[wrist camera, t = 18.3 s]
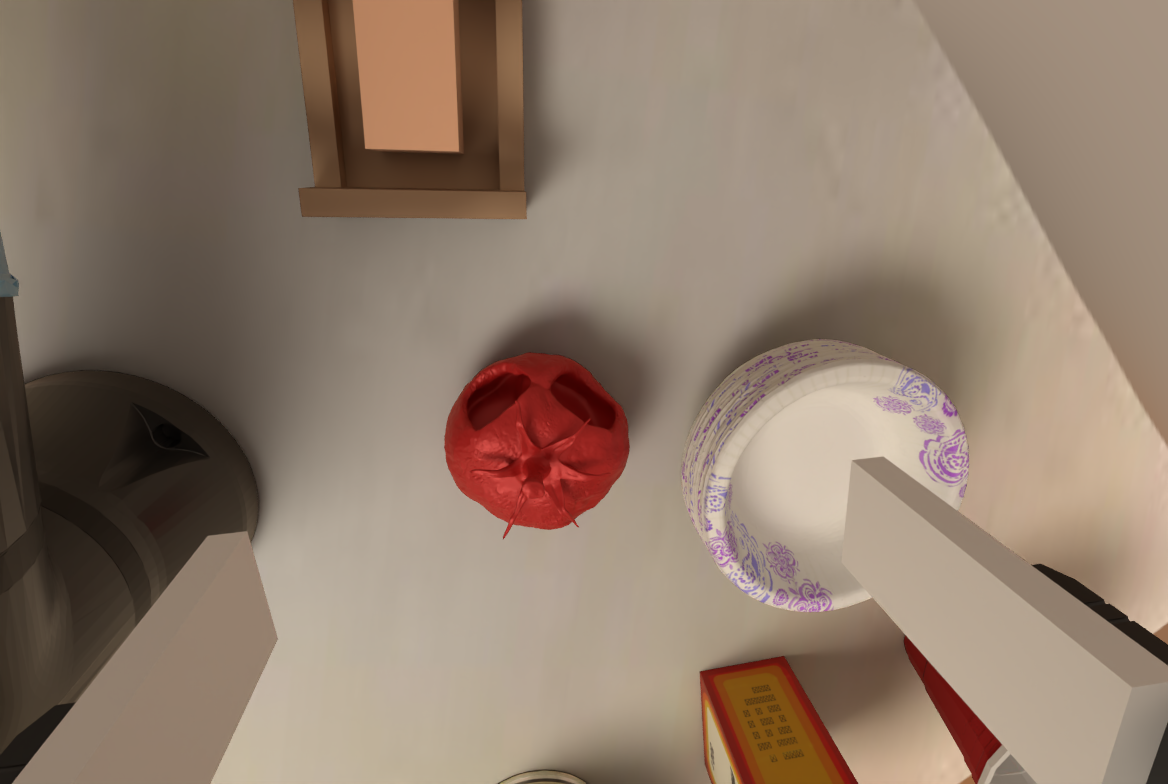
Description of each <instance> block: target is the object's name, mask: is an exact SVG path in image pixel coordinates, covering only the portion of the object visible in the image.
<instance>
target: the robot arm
mask: <svg viewBox="0 0 1168 784" xmlns="http://www.w3.org/2000/svg"><path fill="white" fill-rule="evenodd" d="M18 289H19V282H18V280H17V279H16V278H15V277H14V276H13V275H11V274H10V273H9V270H8V265H7V261H6V256H5V251H4V247H3V242H2V237H1V232H0V784H210V783H211V781H212V779H213V777H214V775H215V772H216V770H217V768H218V766H219V764H220V762H221V760H222V758H223V755H224V753H225V751H226V749H227V747H228V745H229V743H230V740H231V738H232V736H233V734H234V732H235V730H236V728H237V725H238V723H239V721H240V719H241V717H242V715H243V713H244V710H245V708H246V706H247V704H248V702H249V700H250V698H251V695H252V693H253V691H254V689H255V687H256V685H257V683H258V680H259V678H260V676H261V674H262V672H263V670H264V668H265V665H266V663H267V661H268V659H269V657H270V655H271V653H272V650H273V648H274V646H275V644H276V642H277V640H278V638H277V634H276V631H275V627H274V624H273V620H272V617H271V613H270V610H269V606H268V603H267V599H266V596H265V592H264V588H263V585H262V581H261V578H260V574H259V571H258V567H257V564H256V560H255V557H254V553H253V550H252V546H251V543H250V542H251V540H252V538H253V535H254V532H255V528H256V524H257V519H258V493H257V487H256V482H255V479H254V476H253V472H252V470H251V467H250V465H249V463H248V461H247V459H246V457H245V455H244V453H243V451H242V450H241V448H240V447H239V445H238V444H237V442H236V441H235V439H234V438H233V437H232V436H231V434H230V433H229V432H228V431H227V430H226V429H225V428H224V427H223V425H222V424H221V423H220V422H218V421H217V420H216V419H215V418H214V417H213V416H212V415H211V414H210V413H208V412H207V411H206V410H205V409H203V408H202V407H201V406H199V405H198V404H196V403H195V402H193V401H192V400H190V399H189V398H187V397H185V396H183V395H182V394H180V393H178V392H176V391H174V390H172V389H170V388H168V387H165V386H163V385H161V384H158V383H156V382H153V381H150V380H147V379H144V378H140V377H136V376H132V375H128V374H123V373H116V372H109V371H72V372H64V373H58V374H53V375H50V376H46V377H42V378H39V379H37V380H34V381H31V382H29V383H27V384H24V377H23V369H22V362H21V355H20V348H19V341H18V334H17V327H16V320H15V311H14V302H13V296H19V295H18ZM841 563H842V564H843V565H844V566H845V567H846V568H847V569H848V570H849V572H850V573H851V574H852V575H853V576H854V577H855V578H856V579H857V581H858V582H859V583H860V584H861V585H862V586H863V587H864V589H865V590H866V591H867V592H868V593H869V594H870V595H871V596H872V598H873V599H874V600H875V601H876V602H877V603H878V604H879V606H880V607H881V608H882V609H883V610H884V611H885V612H886V613H887V615H888V616H889V617H890V618H891V619H892V620H893V621H894V622H895V624H896V625H897V626H898V627H899V628H900V629H901V630H902V632H903V633H904V634H905V635H906V636H907V637H908V638H909V639H910V641H911V642H912V643H913V644H914V645H915V646H916V647H917V649H918V650H919V651H920V652H921V653H922V654H923V655H924V656H925V658H926V659H927V660H928V661H929V662H930V663H931V664H932V665H933V667H934V668H935V669H936V670H937V671H938V672H939V673H940V675H941V676H942V677H943V678H944V679H945V680H946V681H947V682H948V684H949V685H950V686H951V687H952V688H953V689H954V690H955V692H956V693H957V694H958V695H959V696H960V697H961V698H962V699H963V701H964V702H965V703H966V704H967V705H968V706H969V707H970V708H971V710H972V711H973V712H974V713H975V714H976V715H977V716H978V718H979V719H980V720H981V721H982V722H983V723H984V724H985V725H986V727H987V728H988V729H989V730H990V731H991V732H992V733H993V734H994V736H995V737H996V738H997V739H998V740H999V741H1000V742H1001V744H1002V745H1003V746H1004V747H1005V748H1006V749H1007V750H1008V751H1009V753H1010V754H1011V755H1012V756H1013V757H1014V758H1015V759H1016V761H1017V762H1018V763H1019V764H1020V765H1021V766H1022V767H1023V768H1024V770H1025V771H1026V772H1027V773H1028V774H1029V775H1030V776H1031V777H1032V779H1033V780H1034V781H1035V782H1036V783H1037V784H1168V645H1167V644H1166V643H1165V642H1163V641H1162V640H1160V639H1159V638H1158V637H1156V636H1155V635H1153V634H1152V633H1150V632H1149V631H1148V630H1146V629H1145V628H1143V627H1142V626H1141V625H1139V624H1138V623H1136V622H1135V621H1131V622H1130V621H1129V619H1128V616H1126V615H1125V614H1123V613H1122V612H1121V611H1119V610H1118V609H1116V608H1115V607H1114V606H1112V605H1111V604H1105V602H1104V599H1102V598H1101V597H1099V596H1098V595H1096V594H1095V593H1094V592H1092V591H1091V590H1089V589H1088V588H1087V587H1085V586H1084V585H1082V584H1081V583H1079V582H1078V581H1077V580H1075V579H1073V578H1071V577H1068V576H1066V575H1064V574H1062V573H1060V572H1057V571H1055V570H1053V569H1051V568H1049V567H1046V566H1044V565H1042V564H1036V565H1030V564H1029V563H1028V562H1026V561H1025V560H1024V559H1022V558H1021V557H1019V556H1018V555H1017V554H1015V553H1014V552H1013V551H1011V550H1010V549H1009V548H1007V547H1006V546H1004V545H1003V544H1002V543H1000V542H999V541H998V540H996V539H995V538H994V537H992V536H991V535H990V534H988V533H987V532H985V531H984V530H983V529H981V528H980V527H979V526H977V525H976V524H975V523H973V522H972V521H970V520H969V519H968V518H966V517H965V516H964V515H962V514H961V513H960V512H958V511H957V510H956V509H954V508H953V507H951V506H950V505H949V504H947V503H946V502H945V501H943V500H942V499H941V498H939V497H938V496H936V495H935V494H934V493H932V492H931V491H930V490H928V489H927V488H926V487H924V486H923V485H922V484H920V483H919V482H917V481H916V480H915V479H913V478H912V477H911V476H909V475H908V474H907V473H905V472H904V471H902V470H901V469H900V468H898V467H897V466H896V465H894V464H893V463H892V462H890V461H889V460H888V459H886V458H885V457H883V456H882V457H874V458H865V459H857V460H852V462H851V472H850V482H849V492H848V502H847V511H846V521H845V531H844V541H843V551H842V561H841Z"/></svg>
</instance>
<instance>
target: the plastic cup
mask: <svg viewBox="0 0 1168 784" xmlns="http://www.w3.org/2000/svg"><path fill="white" fill-rule="evenodd" d="M904 645H905V649H906V652H907V654H908V657H909V660H910V662H911V663H912V665H913V667H914V668H915V670H916V672H917V673H918V675H919V677H920V678H921V680H922V682H923V683H924V685H925V689H926V691H927V693H928V695H929V697H930V698H931V700H932V702H933V704H934V705H935V707H936V709H937V711H938V712H939V714H940V716H941V718H942V719H943V721H944V723H945V725H946V726H947V728H948V730H949V732H950V733H951V735H952V737H953V739H954V740H955V742H956V744H957V746H958V747H959V749H960V751H961V753H962V754H963V756H964V761H965V762H966V764H967V766H968V768H969V770H970V772H971V773H972V778H973V780H974V782H975V784H1037V783H1036V782H1035V781H1034V780H1033V779H1032V777H1031V776H1030V775H1029V774H1028V773H1027V772H1026V771H1025V770H1024V768H1023V767H1022V766H1021V765H1020V764H1019V763H1018V762H1017V761H1016V759H1015V758H1014V757H1013V756H1012V755H1011V754H1010V753H1009V751H1008V750H1007V749H1006V748H1005V747H1004V746H1003V745H1002V744H1001V742H1000V741H999V740H998V739H997V738H996V737H995V736H994V734H993V733H992V732H991V731H990V730H989V729H988V728H987V727H986V725H985V724H984V723H983V722H982V721H981V720H980V719H979V718H978V716H977V715H976V714H975V713H974V712H973V711H972V710H971V708H970V707H969V706H968V705H967V704H966V703H965V702H964V701H963V699H962V698H961V697H960V696H959V695H958V694H957V693H956V692H955V690H954V689H953V688H952V687H951V686H950V685H949V684H948V682H947V681H946V680H945V679H944V678H943V677H942V676H941V675H940V673H939V672H938V671H937V670H936V669H935V668H934V667H933V665H932V664H931V663H930V662H929V661H928V660H927V659H926V658H925V656H924V655H923V654H922V653H921V652H920V651H919V650H918V649H917V647H916V646H915V645H914V644H913V643H912V642H911V641H910V639H909V638H908V637H907V636H906V635H905V638H904Z"/></svg>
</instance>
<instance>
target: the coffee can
mask: <svg viewBox="0 0 1168 784" xmlns="http://www.w3.org/2000/svg"><path fill="white" fill-rule="evenodd" d="M500 784H587V783H586V782H584V781H583V780H581V779H579V778H577V777H575V776H573V775H570V774H567V773H563V772H557V771H547V770H542V771H536V772H527V773H523V774H519V775H517V776H514V777H511V778H509V779H507V780H505V781H503V782H501V783H500Z"/></svg>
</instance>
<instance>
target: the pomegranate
mask: <svg viewBox="0 0 1168 784" xmlns="http://www.w3.org/2000/svg"><path fill="white" fill-rule="evenodd" d="M444 448H445V451H446V461H447V465H448V469H449V470H450V472H451V475H452V476H453V479H454V481H455V483H456V485H457V486H458V488H459V489H460V490H461V491H462V492H463V493H464V494H465V495H466V496H467V497H469V498H470V499H472V500H474V501H476V502H478V503H480V504H481V505H482V506H484V507H485V508H486V509H487V510H488V511H489V512H490V513H491V514H493V515H495V516H496V517H497V518H500V519H502V520H505V521H506V522H508V523H509V524H508V527H507V529H506V531H505V533H504V536H503V539H504V538H505V536H506V535H507V534H508V532H509V530H510V528H511V527H512V525H513V524H514V525H521V526H525V527H534V528H540V529H548V530H551V529H558V528H562V527H564V526H567V525H569V524H570V523H571V522H573V523H574V524H575V525H576V526H577V527H579V526H578V525H577V524H576V522H575V520H574V519H575V518H576V517H578V516H579V515H580V514H582V513H583V512H585V511H586V510H589V509H591V508H593V507H595V506H596V505H597V504H598V503H599V502H600V501H601V499H603V498H604V497H605V496H606V494H607V493H608V492H609V490H610V488H611V487H612V485H613V484H614V483H615V481H616V480H617V479H618V478H619V477H620V476H621V474H622V472H623V470H624V468H625V466H626V462H627V458H628V455H629V448H630V445H629V438H628V423H627V419H626V416H625V413H624V411H623V409H622V407H621V406H620V405H619V404H618V403H617V402H616V401H615V400H614V399H613V398H612V397H611V396H610V395H609V394H608V393H607V392H606V391H605V390H604V388H603V387H602V386H601V384H600V383H598V382H597V380H596V379H595V378H594V377H593V376H592V374H591V373H590V372H589V371H588V370H587V369H586V368H584V367H583V366H582V365H580V364H579V363H577V362H575V361H573V360H572V359H569V358H566V357H564V356H561V355H548V354H543V353H531V352H529V353H525V354H523V355H519V356H516V357H511V358H507V359H504V360H500V361H496V362H495V363H493V364H491V365H489V366H487V367H486V368H484V369H483V370H481V371H480V372H479V373H478V374H477V375H476V376H475V377H474V378H473V380H472V381H470V382H469V383H468V384H467V385H466V386H465V388H464V389H463V391H462V392H461V394H460V395H459V397H458V399H457V400H456V402H455V404H454V406H453V407H452V410H451V412H450V414H449V416H448V420H447V425H446V433H445V446H444Z"/></svg>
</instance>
